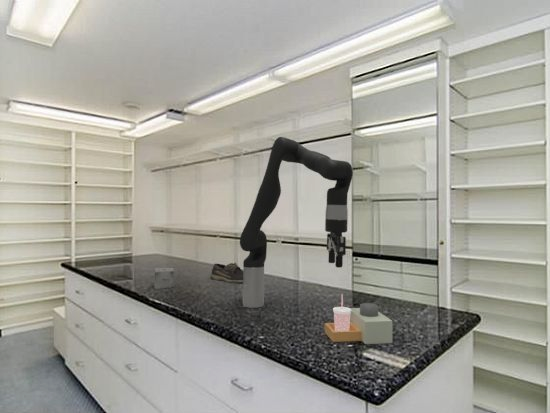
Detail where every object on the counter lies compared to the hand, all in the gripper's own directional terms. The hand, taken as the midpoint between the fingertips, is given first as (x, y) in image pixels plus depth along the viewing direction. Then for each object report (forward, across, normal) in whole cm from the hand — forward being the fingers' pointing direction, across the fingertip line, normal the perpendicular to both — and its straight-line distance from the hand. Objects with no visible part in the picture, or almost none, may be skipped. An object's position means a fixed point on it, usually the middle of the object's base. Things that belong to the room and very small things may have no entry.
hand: (335, 265), depth 124 cm
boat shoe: (+26, -95, -35) cm, 104 cm away
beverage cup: (+23, +4, +2) cm, 24 cm away
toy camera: (+23, +4, +6) cm, 24 cm away
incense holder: (+26, -79, -71) cm, 109 cm away
